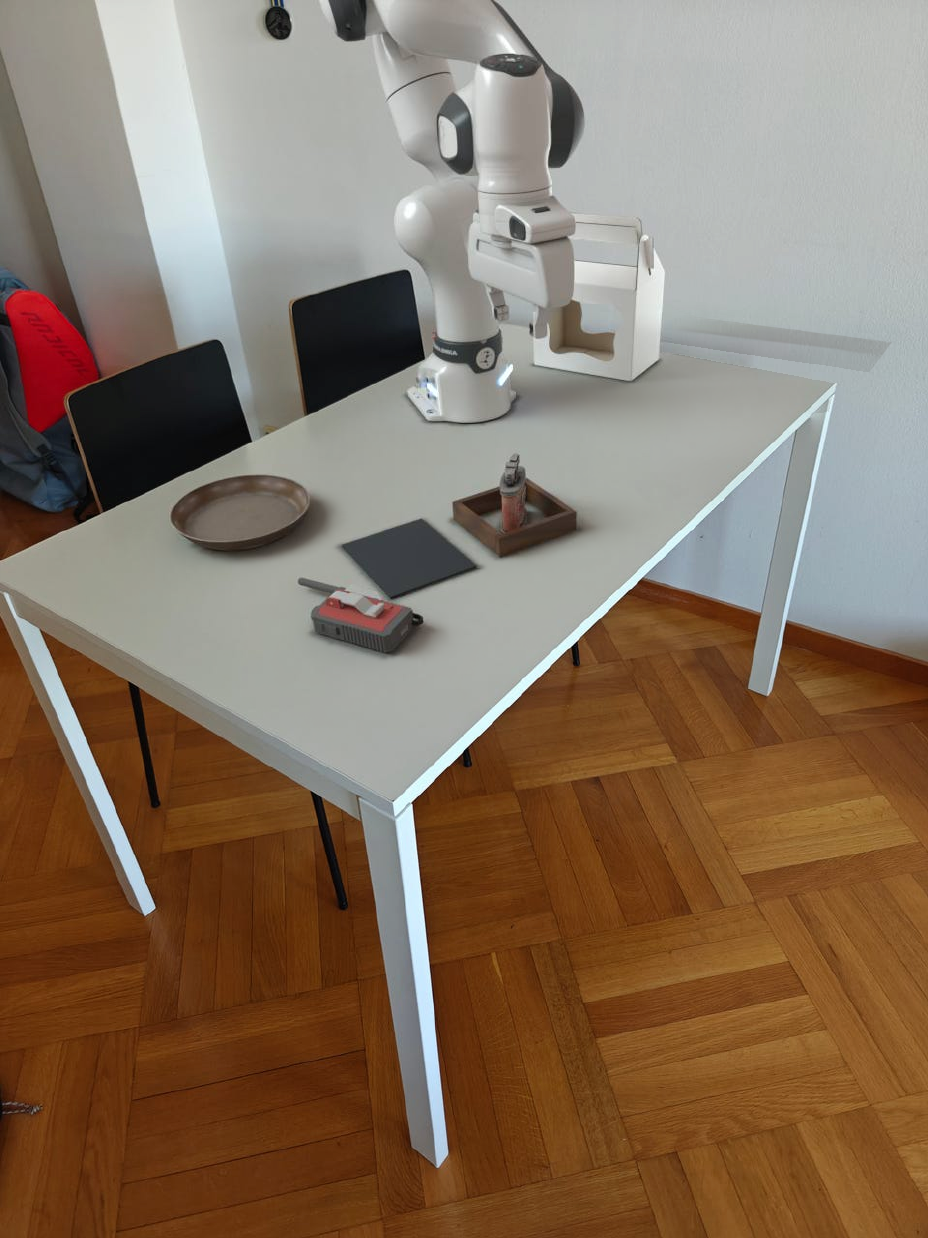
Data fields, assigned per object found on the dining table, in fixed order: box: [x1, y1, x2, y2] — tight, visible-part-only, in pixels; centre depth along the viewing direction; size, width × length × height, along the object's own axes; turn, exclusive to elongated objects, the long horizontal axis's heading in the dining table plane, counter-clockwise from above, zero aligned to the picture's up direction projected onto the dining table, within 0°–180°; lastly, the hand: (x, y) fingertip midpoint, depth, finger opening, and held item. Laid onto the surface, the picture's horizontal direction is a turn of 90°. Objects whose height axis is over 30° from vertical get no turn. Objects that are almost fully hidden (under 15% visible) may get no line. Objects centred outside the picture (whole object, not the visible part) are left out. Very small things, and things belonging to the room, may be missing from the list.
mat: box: [341, 518, 477, 600], centre depth 123 cm, size 16×13×1 cm
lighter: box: [499, 452, 527, 534], centre depth 126 cm, size 8×3×10 cm, turn 168°
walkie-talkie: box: [297, 577, 424, 654], centre depth 111 cm, size 9×4×20 cm
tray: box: [451, 477, 578, 558], centre depth 128 cm, size 13×13×3 cm
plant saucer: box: [169, 473, 311, 551], centre depth 133 cm, size 21×21×3 cm
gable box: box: [532, 212, 666, 382], centre depth 172 cm, size 22×13×28 cm, turn 56°
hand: (519, 327), depth 115 cm, fingers open, 8 cm apart
